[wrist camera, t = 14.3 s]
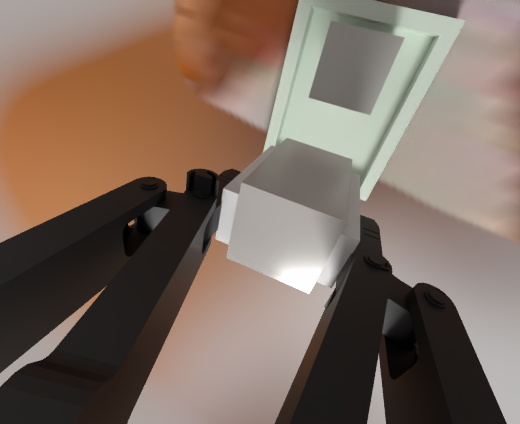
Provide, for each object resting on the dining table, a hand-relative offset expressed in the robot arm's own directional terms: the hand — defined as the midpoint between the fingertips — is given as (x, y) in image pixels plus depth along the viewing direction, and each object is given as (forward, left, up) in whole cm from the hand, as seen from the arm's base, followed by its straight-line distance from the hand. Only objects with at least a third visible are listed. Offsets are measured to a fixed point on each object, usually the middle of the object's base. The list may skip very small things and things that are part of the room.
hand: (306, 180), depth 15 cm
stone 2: (-6, 0, -10) cm, 12 cm away
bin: (-3, 0, -11) cm, 11 cm away
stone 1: (0, 0, 0) cm, 0 cm away
